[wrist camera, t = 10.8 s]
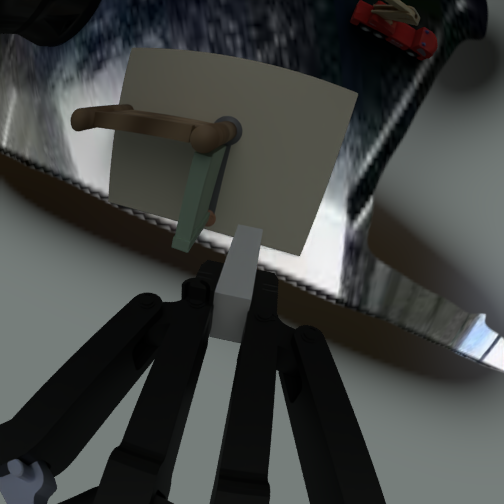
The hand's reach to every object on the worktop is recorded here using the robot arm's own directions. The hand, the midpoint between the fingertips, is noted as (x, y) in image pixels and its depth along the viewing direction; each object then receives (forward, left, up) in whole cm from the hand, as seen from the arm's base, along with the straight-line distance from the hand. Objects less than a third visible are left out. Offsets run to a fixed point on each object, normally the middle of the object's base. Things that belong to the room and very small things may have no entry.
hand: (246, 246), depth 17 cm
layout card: (-7, +2, -17) cm, 19 cm away
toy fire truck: (+7, +23, -18) cm, 30 cm away
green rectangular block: (-6, -2, -17) cm, 18 cm away
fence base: (-13, +4, -17) cm, 22 cm away
